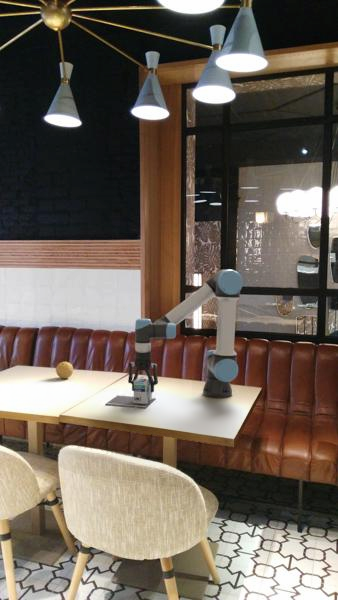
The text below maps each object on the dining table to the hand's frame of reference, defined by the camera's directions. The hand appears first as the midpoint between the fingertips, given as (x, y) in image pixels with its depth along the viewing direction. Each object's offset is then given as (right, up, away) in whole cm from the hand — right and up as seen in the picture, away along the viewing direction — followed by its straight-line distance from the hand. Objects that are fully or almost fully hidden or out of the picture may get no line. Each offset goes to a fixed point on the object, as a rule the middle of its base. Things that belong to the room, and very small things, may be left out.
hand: (143, 398), depth 230 cm
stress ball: (-49, +1, +50) cm, 70 cm away
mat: (-6, -2, +2) cm, 7 cm away
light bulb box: (0, -2, 0) cm, 2 cm away
